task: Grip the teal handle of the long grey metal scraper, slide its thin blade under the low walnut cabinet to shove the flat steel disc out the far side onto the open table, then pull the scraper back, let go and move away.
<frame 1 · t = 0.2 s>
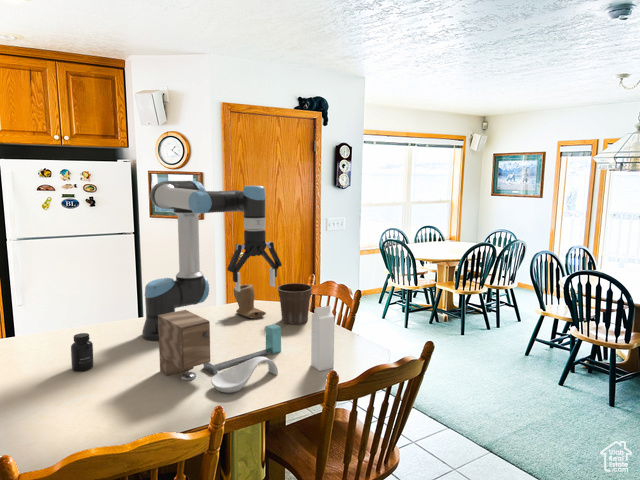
hand: (255, 288, 166), 27 cm above the table, tool pointing down, fingers open, 13 cm apart
milk: (322, 367, 165), on the table
supplement bottle: (83, 368, 161), on the table
plant pot: (294, 321, 216), on the table
scraper: (273, 351, 178), on the table
steel token: (188, 378, 155), on the table
spoon rest: (245, 384, 151), on the table
low cabinet: (185, 375, 156), on the table
brown boot: (247, 315, 224), on the table
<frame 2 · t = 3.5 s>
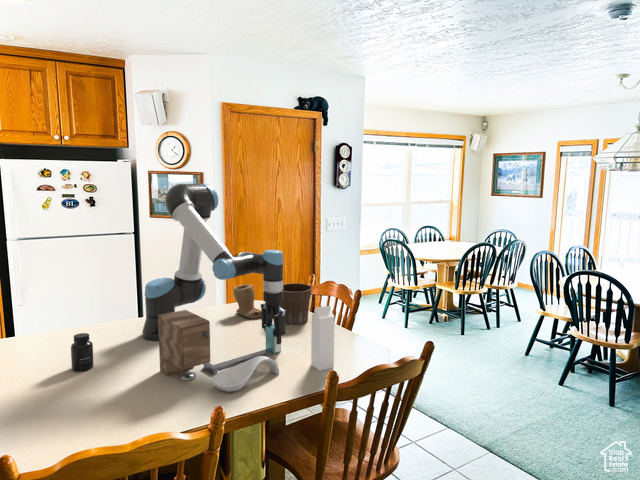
hand: (273, 349, 178), 1 cm above the table, tool pointing down, fingers closed on scraper, 4 cm apart
scraper: (273, 351, 178), on the table, touching gripper
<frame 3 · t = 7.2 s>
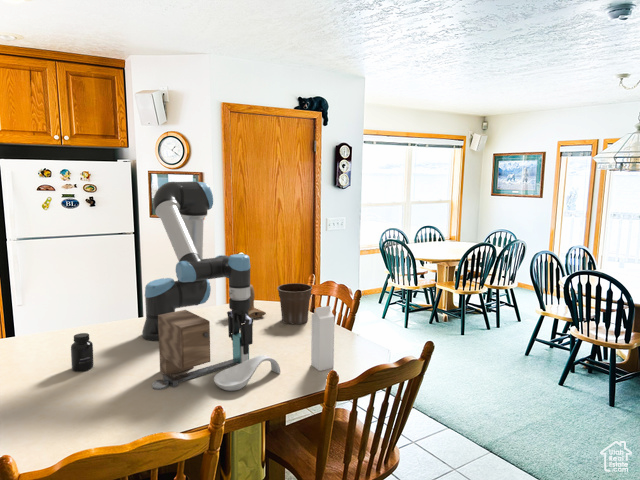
hand: (240, 359, 168), 1 cm above the table, tool pointing down, fingers closed on scraper, 4 cm apart
scraper: (241, 361, 169), on the table, touching gripper
steel token: (160, 386, 148), on the table
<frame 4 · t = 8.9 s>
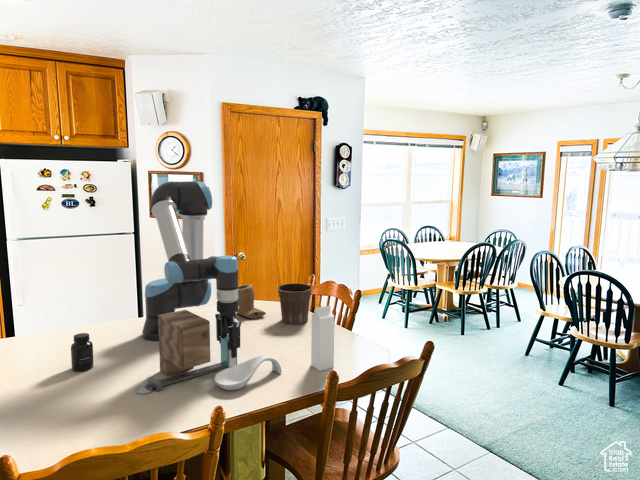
hand: (228, 363, 165), 1 cm above the table, tool pointing down, fingers closed on scraper, 4 cm apart
scraper: (229, 364, 165), on the table, touching gripper
steel token: (144, 392, 145), on the table
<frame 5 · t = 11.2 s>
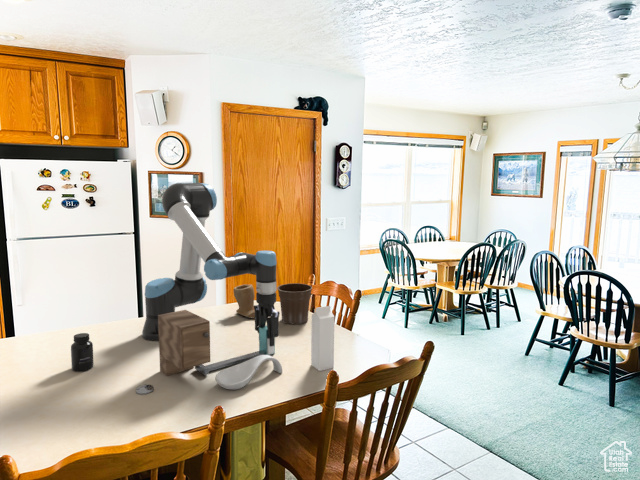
hand: (266, 351, 176), 1 cm above the table, tool pointing down, fingers closed on scraper, 4 cm apart
scraper: (266, 352, 176), on the table, touching gripper
when the fingers open (1 cm above the table, at t = 12.3 s): scraper stays where it is, on the table.
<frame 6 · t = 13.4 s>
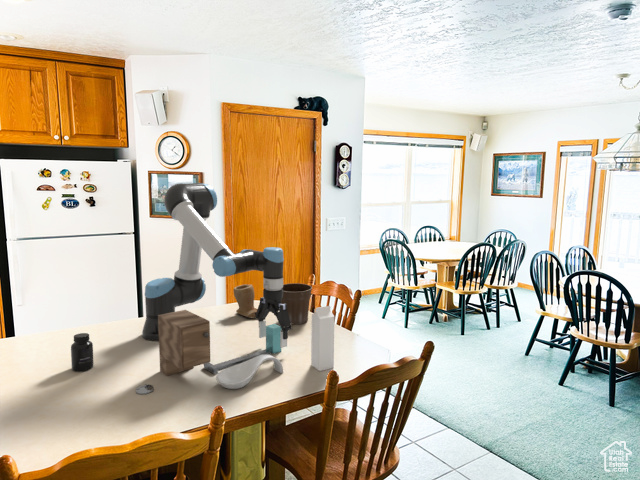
hand: (272, 341, 178), 4 cm above the table, tool pointing down, fingers open, 13 cm apart
scraper: (273, 351, 179), on the table
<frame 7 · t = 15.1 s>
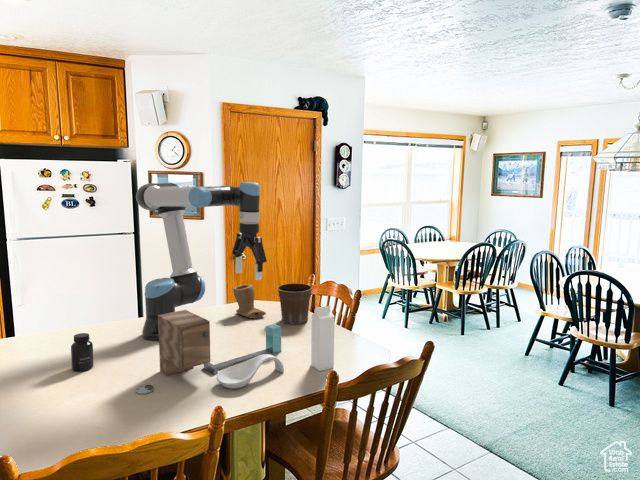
hand: (248, 276, 181), 28 cm above the table, tool pointing down, fingers open, 13 cm apart
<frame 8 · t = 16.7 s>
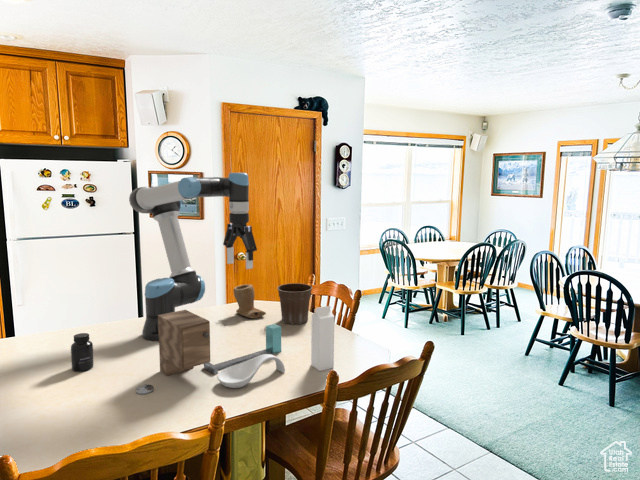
hand: (239, 266, 183), 32 cm above the table, tool pointing down, fingers open, 13 cm apart
at the end: steel token inside the target area (0.8 cm from its centre), on the table; steel token touching table; the gripper is holding nothing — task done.
